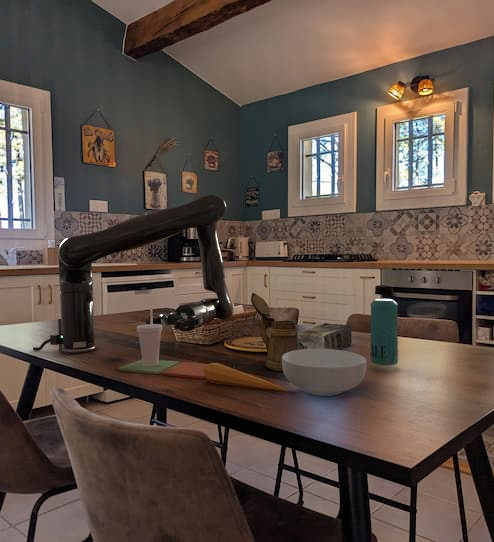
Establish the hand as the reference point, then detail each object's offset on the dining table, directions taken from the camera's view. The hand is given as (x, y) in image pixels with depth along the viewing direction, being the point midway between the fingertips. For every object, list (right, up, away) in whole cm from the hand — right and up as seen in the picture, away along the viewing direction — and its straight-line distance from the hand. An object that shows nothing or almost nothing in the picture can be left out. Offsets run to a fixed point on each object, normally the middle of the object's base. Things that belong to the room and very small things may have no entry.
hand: (161, 324), depth 131 cm
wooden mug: (+29, -10, -6) cm, 31 cm away
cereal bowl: (+37, -11, -28) cm, 47 cm away
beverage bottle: (+54, -10, -10) cm, 56 cm away
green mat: (-2, -10, -5) cm, 11 cm away
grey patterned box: (+44, -9, +14) cm, 47 cm away
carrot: (+21, -11, -24) cm, 34 cm away
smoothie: (-2, -10, -5) cm, 11 cm away
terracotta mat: (+9, -10, -10) cm, 17 cm away
